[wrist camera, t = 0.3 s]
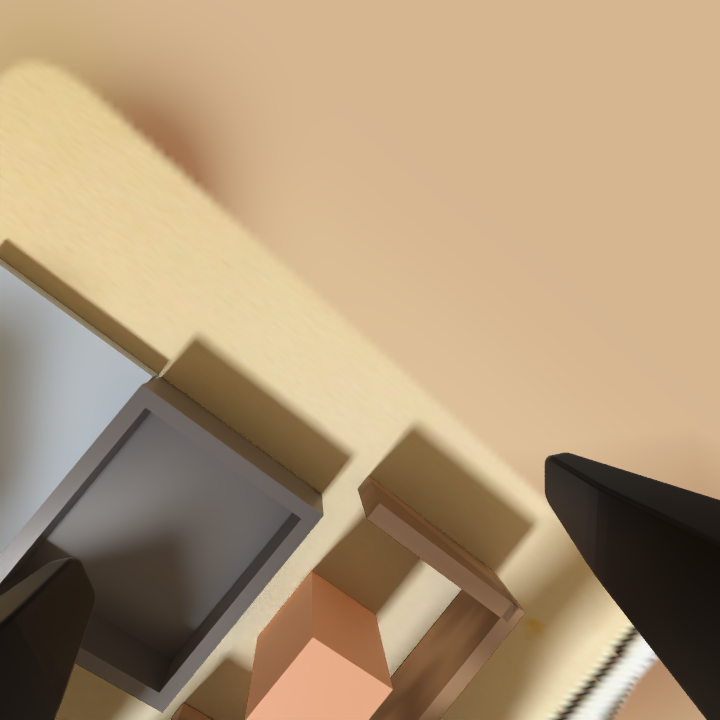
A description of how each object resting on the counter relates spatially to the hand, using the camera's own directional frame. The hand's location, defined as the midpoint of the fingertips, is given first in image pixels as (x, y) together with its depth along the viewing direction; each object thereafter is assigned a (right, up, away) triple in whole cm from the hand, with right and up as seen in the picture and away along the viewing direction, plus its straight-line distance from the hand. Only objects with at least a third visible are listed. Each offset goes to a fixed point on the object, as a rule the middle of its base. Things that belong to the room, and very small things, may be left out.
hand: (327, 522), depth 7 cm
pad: (-18, 0, +12) cm, 22 cm away
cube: (-2, -13, +16) cm, 21 cm away
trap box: (-10, -6, +14) cm, 18 cm away
